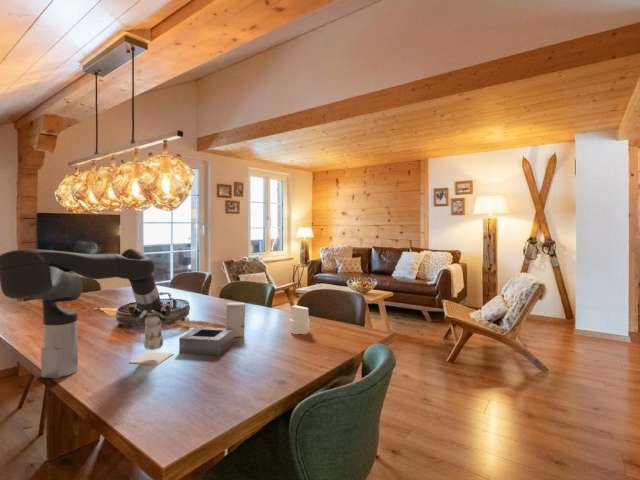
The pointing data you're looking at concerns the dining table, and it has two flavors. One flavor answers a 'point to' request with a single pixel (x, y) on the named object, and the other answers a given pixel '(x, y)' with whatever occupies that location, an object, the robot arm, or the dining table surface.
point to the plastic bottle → (153, 332)
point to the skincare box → (236, 317)
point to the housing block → (206, 341)
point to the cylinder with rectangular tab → (299, 320)
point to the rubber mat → (151, 358)
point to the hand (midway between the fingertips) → (154, 320)
